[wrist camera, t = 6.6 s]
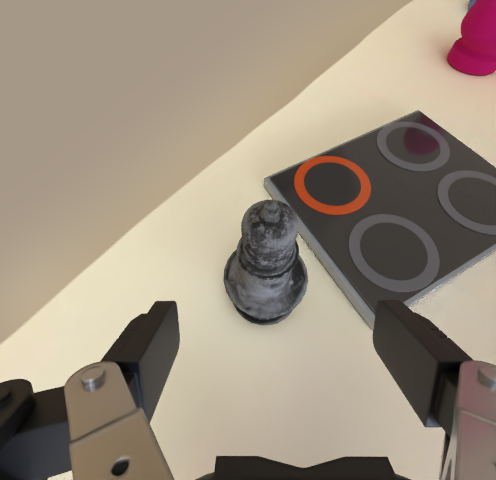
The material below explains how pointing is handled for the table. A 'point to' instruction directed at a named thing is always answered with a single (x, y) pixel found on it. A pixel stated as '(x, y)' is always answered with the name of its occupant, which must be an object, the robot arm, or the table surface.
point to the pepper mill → (476, 40)
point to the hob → (393, 210)
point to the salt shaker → (266, 265)
